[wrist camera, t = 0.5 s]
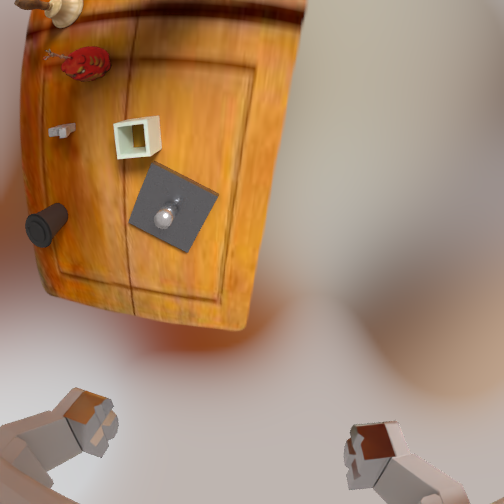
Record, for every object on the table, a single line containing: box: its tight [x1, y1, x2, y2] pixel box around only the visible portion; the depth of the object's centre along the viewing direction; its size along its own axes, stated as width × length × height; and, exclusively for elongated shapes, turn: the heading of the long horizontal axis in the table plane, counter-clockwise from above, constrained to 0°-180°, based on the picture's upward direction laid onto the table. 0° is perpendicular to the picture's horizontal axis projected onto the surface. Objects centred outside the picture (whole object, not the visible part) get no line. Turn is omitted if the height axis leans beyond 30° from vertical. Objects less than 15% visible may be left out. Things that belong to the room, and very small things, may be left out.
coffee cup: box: [25, 203, 68, 248], centre depth 54 cm, size 8×8×10 cm
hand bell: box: [14, 0, 83, 28], centre depth 28 cm, size 8×8×16 cm
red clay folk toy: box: [43, 46, 111, 82], centre depth 35 cm, size 8×7×15 cm
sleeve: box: [113, 115, 162, 159], centre depth 47 cm, size 6×6×6 cm
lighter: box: [48, 123, 76, 138], centre depth 45 cm, size 7×2×8 cm, turn 86°
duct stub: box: [128, 161, 219, 253], centre depth 54 cm, size 14×14×6 cm
